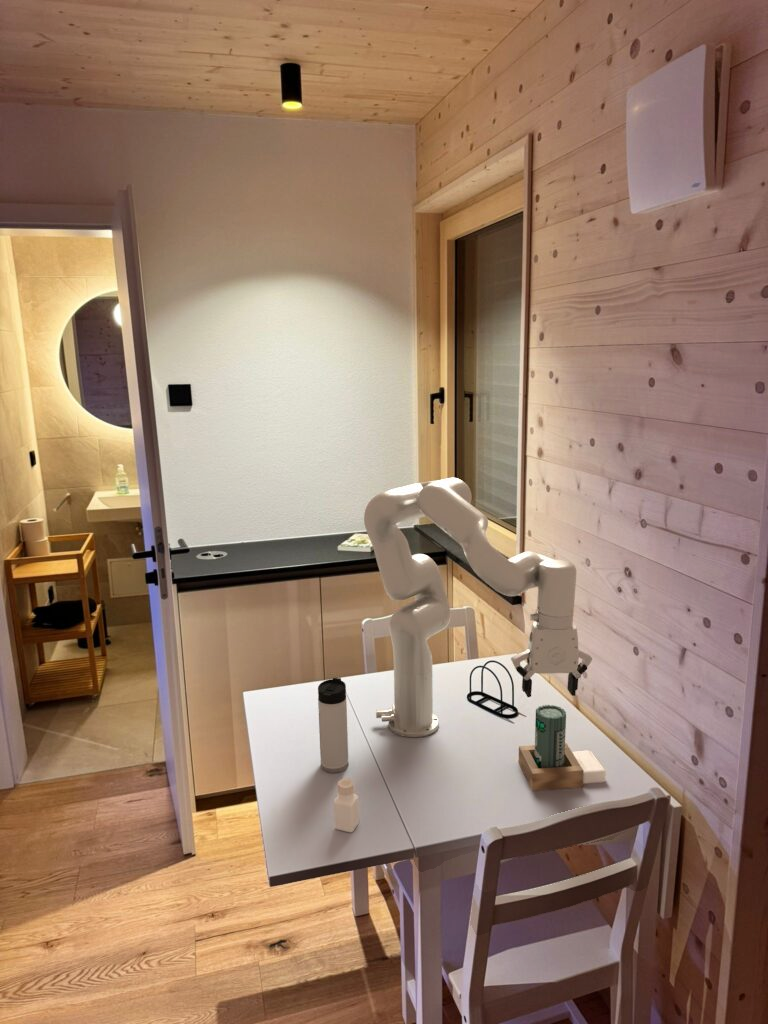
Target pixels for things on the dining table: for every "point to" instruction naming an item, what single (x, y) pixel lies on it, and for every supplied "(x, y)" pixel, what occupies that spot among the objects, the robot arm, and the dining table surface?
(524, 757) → the socket
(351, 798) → the pepper shaker
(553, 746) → the can
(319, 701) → the travel mug
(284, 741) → the dining table surface
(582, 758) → the soap
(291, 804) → the dining table surface
